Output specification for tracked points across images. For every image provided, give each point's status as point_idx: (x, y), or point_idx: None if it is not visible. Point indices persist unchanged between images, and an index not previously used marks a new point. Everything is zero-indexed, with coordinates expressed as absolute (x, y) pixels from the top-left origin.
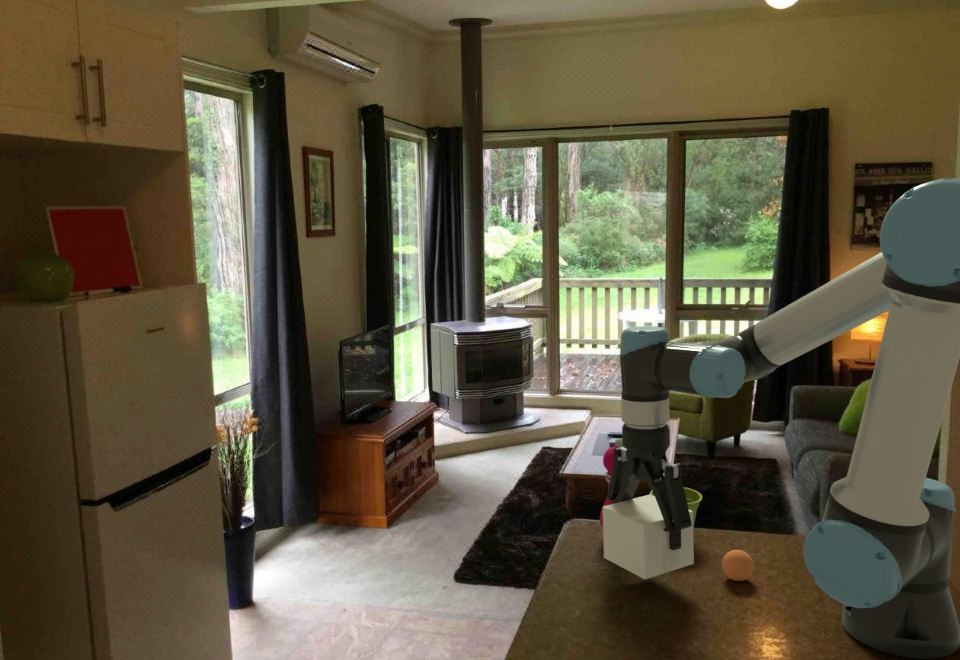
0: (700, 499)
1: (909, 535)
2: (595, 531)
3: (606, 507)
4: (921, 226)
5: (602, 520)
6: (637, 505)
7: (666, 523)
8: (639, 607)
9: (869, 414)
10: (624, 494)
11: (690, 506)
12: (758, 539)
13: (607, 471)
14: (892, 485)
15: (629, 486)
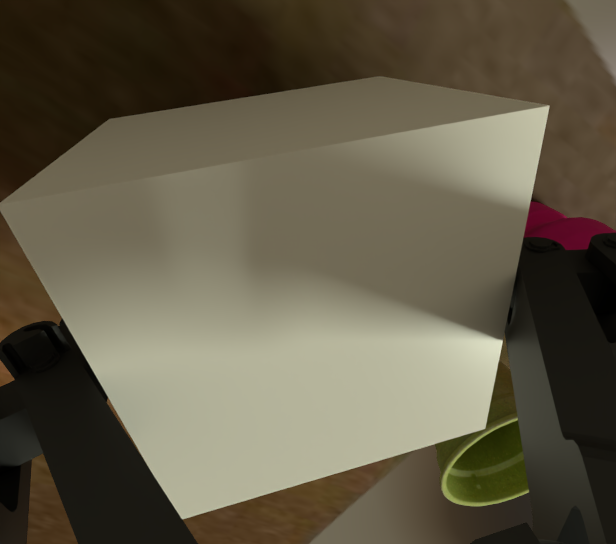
0: (448, 498)
1: None
2: (602, 221)
3: (516, 125)
4: None
5: (594, 226)
6: (406, 329)
7: (62, 368)
8: (128, 78)
9: None
10: (530, 316)
11: (442, 464)
12: (352, 478)
13: None
14: None
15: (540, 390)
